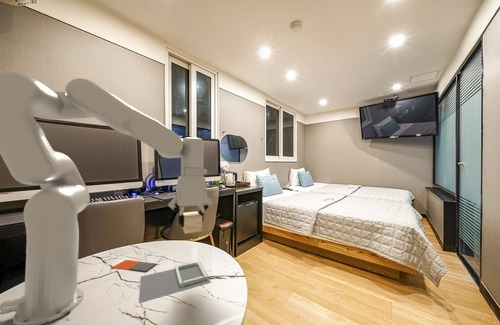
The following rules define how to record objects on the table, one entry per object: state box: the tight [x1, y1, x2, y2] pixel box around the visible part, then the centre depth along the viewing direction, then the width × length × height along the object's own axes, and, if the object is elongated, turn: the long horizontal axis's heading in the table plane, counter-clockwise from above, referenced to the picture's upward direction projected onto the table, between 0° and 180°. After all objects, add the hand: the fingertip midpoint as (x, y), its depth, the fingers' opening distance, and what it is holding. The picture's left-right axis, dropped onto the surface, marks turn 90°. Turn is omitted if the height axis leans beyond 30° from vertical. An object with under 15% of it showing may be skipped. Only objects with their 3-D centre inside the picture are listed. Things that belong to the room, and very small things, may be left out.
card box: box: [180, 211, 203, 235], centre depth 65 cm, size 8×6×5 cm
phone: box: [111, 259, 158, 274], centre depth 70 cm, size 6×1×15 cm
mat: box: [138, 260, 212, 304], centre depth 62 cm, size 20×14×2 cm
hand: (191, 224), depth 65 cm, fingers closed on card box, 5 cm apart
